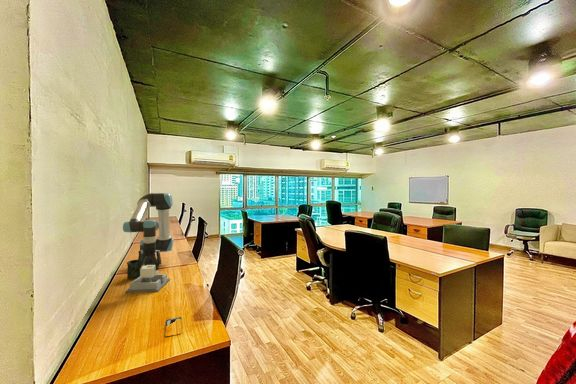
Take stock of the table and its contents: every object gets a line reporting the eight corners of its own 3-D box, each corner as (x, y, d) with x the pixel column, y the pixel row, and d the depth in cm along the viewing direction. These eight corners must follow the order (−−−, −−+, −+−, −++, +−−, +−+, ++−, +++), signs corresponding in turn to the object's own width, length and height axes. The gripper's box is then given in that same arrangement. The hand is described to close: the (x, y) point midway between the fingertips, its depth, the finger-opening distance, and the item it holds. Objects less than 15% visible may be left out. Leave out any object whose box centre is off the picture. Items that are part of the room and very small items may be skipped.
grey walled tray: (141, 281, 173) (141, 273, 173) (170, 280, 175) (170, 273, 175) (125, 292, 153) (125, 284, 153) (158, 291, 156) (158, 283, 156)
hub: (152, 277, 161) (152, 268, 160) (140, 277, 160) (140, 268, 160) (161, 271, 174) (161, 262, 173) (150, 271, 173) (150, 262, 173)
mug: (144, 273, 188) (144, 258, 188) (141, 280, 175) (141, 263, 175) (128, 275, 184) (128, 260, 184) (124, 282, 171) (124, 265, 170)
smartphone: (164, 337, 107) (165, 319, 121) (164, 339, 107) (165, 321, 121) (182, 333, 110) (181, 316, 124) (182, 335, 110) (181, 318, 124)
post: (148, 283, 166) (148, 269, 166) (152, 283, 166) (152, 269, 166) (146, 285, 163) (146, 270, 163) (150, 285, 163) (150, 270, 163)
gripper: (130, 243, 160) (130, 277, 160) (162, 243, 161) (161, 276, 161) (137, 241, 168) (137, 273, 168) (167, 241, 168) (167, 273, 168)
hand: (149, 274), depth 164 cm, fingers closed on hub, 8 cm apart
